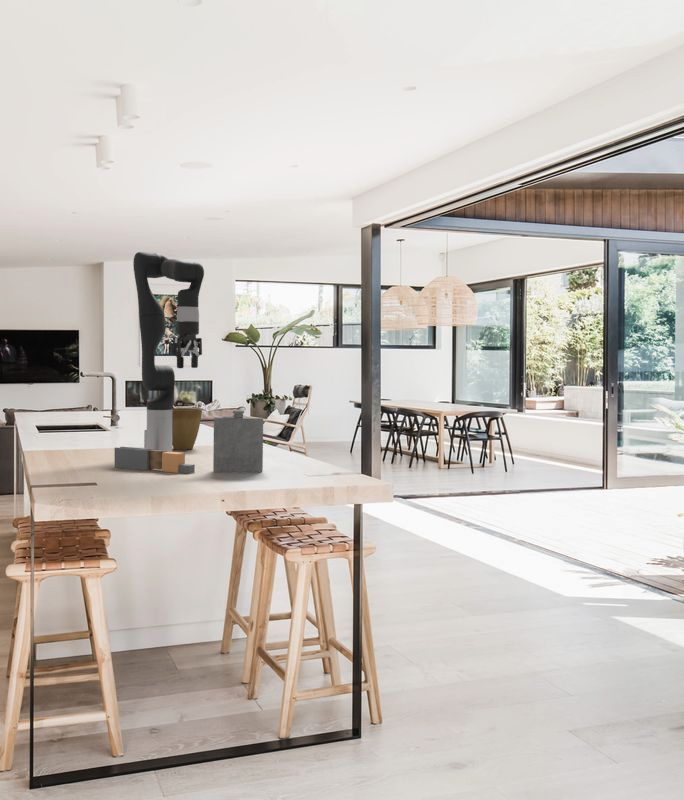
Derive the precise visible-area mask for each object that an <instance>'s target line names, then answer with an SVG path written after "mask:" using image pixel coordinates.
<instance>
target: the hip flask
mask: <svg viewBox="0 0 684 800" xmlns="http://www.w3.org/2000/svg"><path fill="white" fill-rule="evenodd" d="M232 414H233V415H230V416H229V415H228V416H222V417H221V416H220V417H213V454H212V455H213V462H212V463H213V464H212V466H213V469H212V470H213V471H214V472H213V471H212V472H213V473H232V472H254V473H263V472H262V471H264V470H263V467H264V465H263V464H264V461H263V460H264V417H244V414H245V411H244V410H240V409H239V410H238V409H237V410H232Z"/></svg>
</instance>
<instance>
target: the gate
mask: <svg viewBox="0 0 684 800" xmlns="http://www.w3.org/2000/svg"><path fill="white" fill-rule="evenodd" d="M164 452H167V451H158V450H149V470H161V471H162V453H164Z"/></svg>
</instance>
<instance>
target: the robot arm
mask: <svg viewBox="0 0 684 800" xmlns="http://www.w3.org/2000/svg"><path fill="white" fill-rule="evenodd" d="M132 265H133V273H134V274H133V275H134V279H135V280H134V281H135V287H136V291H137V292H136V293H137V301H138V305H137V306H138V318H139V322H138V323H139V330H140V331H139V332H140V343H141V381H142V386H143V388H144V390H146V391H149V392H159V394H158V395H157V396H156V397H154V398H153V399H151V400H148V401H147V402H146V429H144V434H143V435H144V437H143V443H144V444H143V445H144V448H147V449H154V450H158V451H167V452H173V446H172V408H173V405H174V400H175V386H176V385H175V383H176V379H175V378H176V376H175V371H174V368H173V367H172V366H170V365H156V361H155V360H156V359H155V357H156V356H155V355H156V351H157V349H158V346H159V345H160V343H161V341H162V339H163V337H164V335H165V333H166V318H165V317H166V315H165V310H164V309H163V307H162V304H160V302H159V301H158V299H157V298H156V297H155V295H154V293H153V291H152V290H151V287H150V285H149V280H148V279H161V278H165V279H166V278H167V279H169V280H174V281H175V282H180V283H190V285H189V286H188V288H185V289H180V290H178V292H177V310H176V334H177V335H178V337H177V336H176V337H175V336H174V337H173V339H172V356H175V358H176V368H177V369H184V368H185V367H184V364H185V362H184V361H185V360H184V359H185V358H184V356H185V353H187V352H189V353H190V355H191V359H190V361H191V362H190V363H191V364H190V366H191V367H190V368H192V369H197V368H198V366H199V357H200V356H202V355H203V344H202V343H203V341H202V337H197V335H199V334H200V311H199V296H200V292H201V287H202V284H203V280H204V276H205V270H204V266H203V265H202V264H201V263H200V262H197V261H183V260H180V259H174V258H173V259H172V258H168V257H167V256H165V255H163V254H160V253H157V252H148V251H147V252H144V251H139V252H136V253H135V255H134V256H133V263H132Z"/></svg>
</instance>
